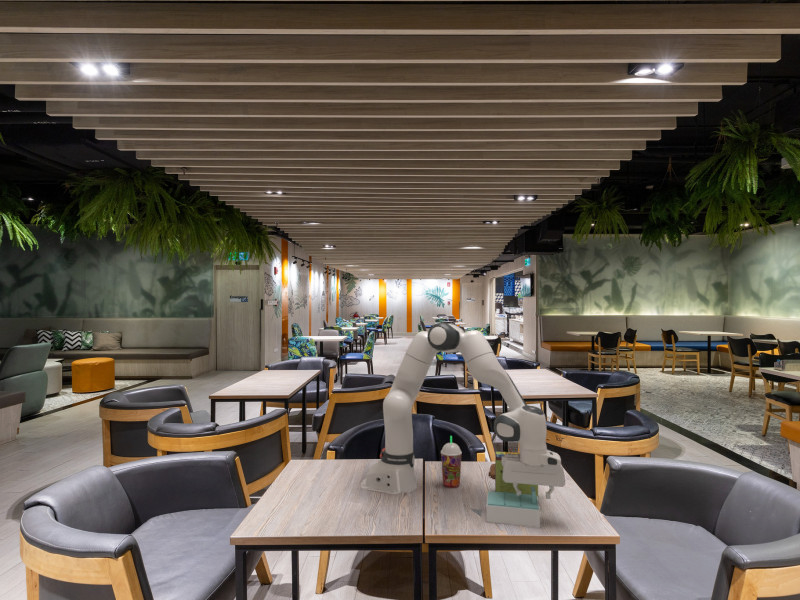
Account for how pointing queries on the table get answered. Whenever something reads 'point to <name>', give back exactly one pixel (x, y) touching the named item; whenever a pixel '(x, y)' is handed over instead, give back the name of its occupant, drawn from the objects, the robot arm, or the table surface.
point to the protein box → (504, 486)
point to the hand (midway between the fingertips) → (533, 497)
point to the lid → (513, 500)
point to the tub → (513, 516)
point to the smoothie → (451, 464)
